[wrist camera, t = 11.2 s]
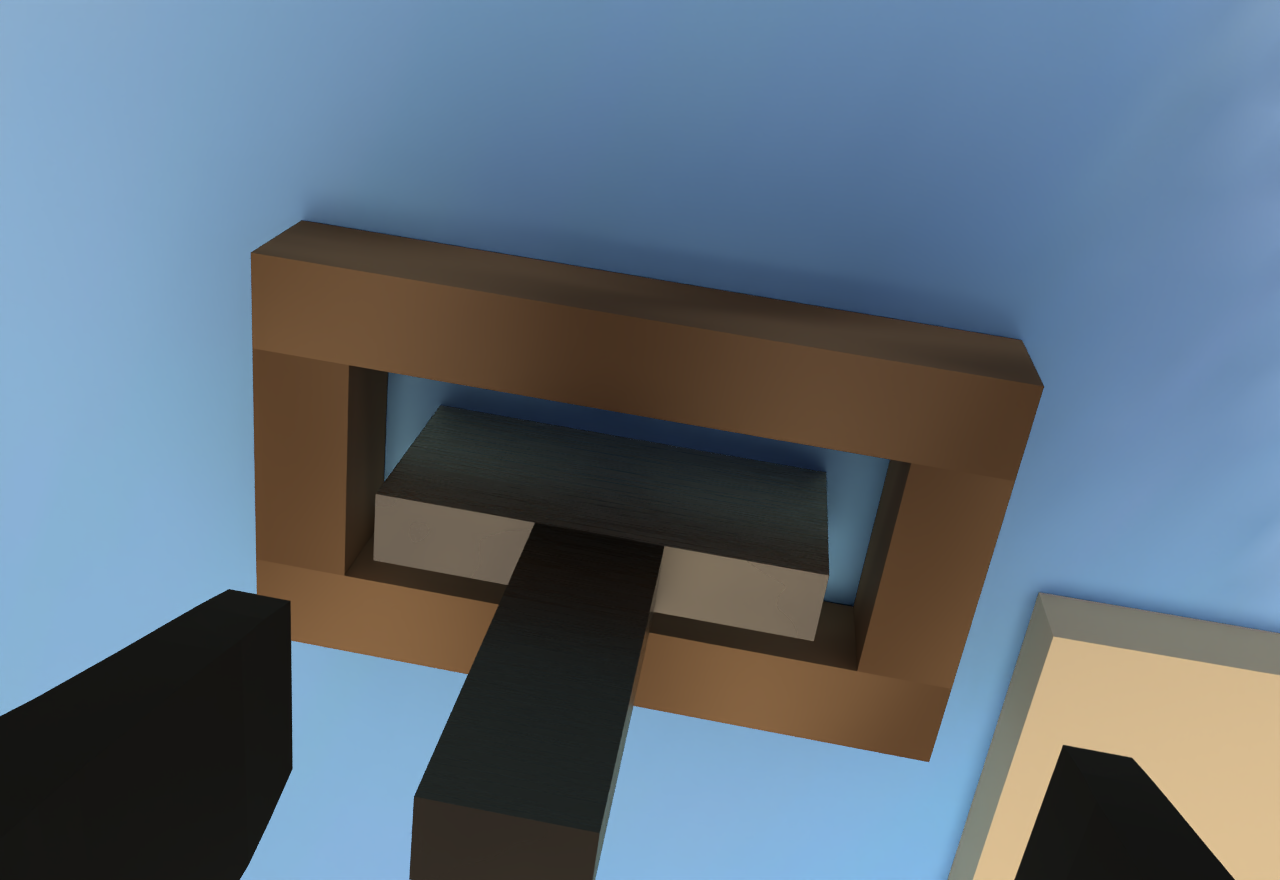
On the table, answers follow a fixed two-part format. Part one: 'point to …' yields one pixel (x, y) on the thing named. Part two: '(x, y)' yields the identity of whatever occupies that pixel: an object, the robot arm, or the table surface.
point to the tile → (1137, 729)
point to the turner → (578, 613)
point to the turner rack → (651, 387)
